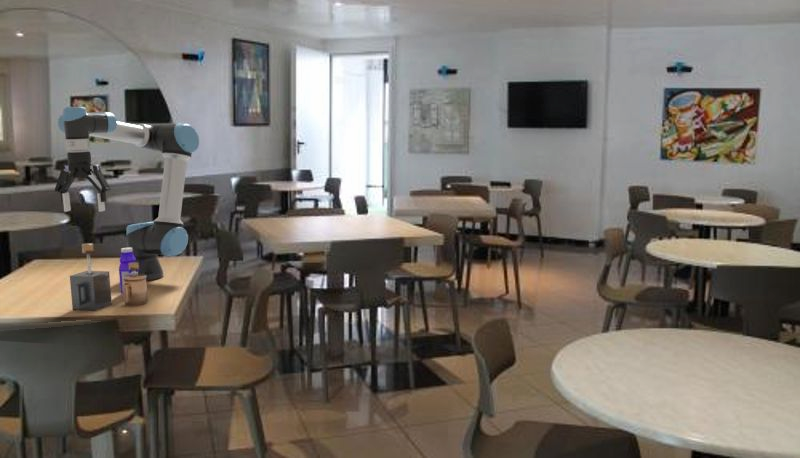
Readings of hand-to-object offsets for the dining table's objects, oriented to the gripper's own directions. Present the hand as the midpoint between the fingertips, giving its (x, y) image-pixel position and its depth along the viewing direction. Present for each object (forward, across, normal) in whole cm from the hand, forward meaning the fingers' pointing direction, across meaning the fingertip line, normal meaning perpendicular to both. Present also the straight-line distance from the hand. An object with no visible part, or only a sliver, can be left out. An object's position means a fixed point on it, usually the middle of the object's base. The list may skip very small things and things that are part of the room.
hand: (84, 211), depth 251 cm
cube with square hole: (+33, +5, -11) cm, 35 cm away
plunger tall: (+29, +6, -9) cm, 31 cm away
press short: (+33, +18, -3) cm, 37 cm away
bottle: (+33, +7, +12) cm, 36 cm away
